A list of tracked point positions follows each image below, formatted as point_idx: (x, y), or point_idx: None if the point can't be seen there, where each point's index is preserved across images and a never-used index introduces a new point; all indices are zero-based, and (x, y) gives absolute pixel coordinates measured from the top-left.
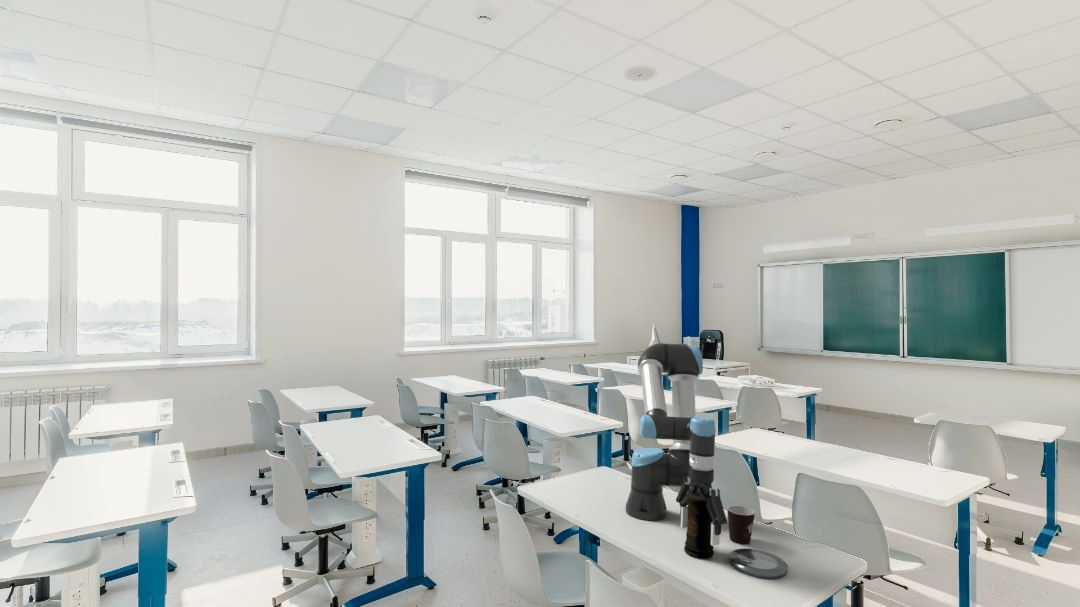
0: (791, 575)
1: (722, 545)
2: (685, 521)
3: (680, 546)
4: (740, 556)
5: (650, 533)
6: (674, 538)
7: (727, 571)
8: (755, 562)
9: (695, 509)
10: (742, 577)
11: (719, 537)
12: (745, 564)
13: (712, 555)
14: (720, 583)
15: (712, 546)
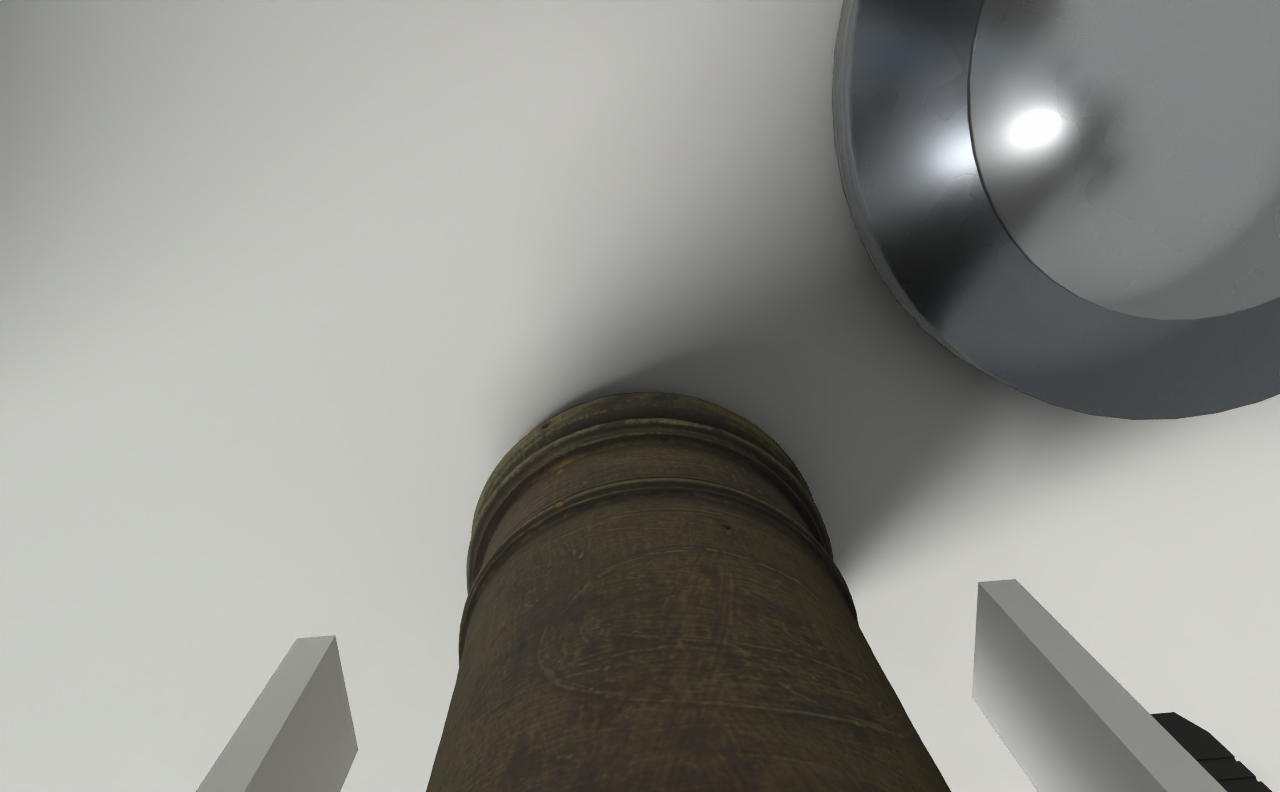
0: None
1: (554, 113)
2: (311, 767)
3: (451, 645)
4: (1047, 231)
5: (60, 776)
6: (235, 595)
7: (1099, 518)
8: (1256, 157)
9: None
10: (1259, 454)
11: (1073, 639)
12: (1210, 316)
13: (807, 486)
14: (1227, 719)
15: (782, 488)
